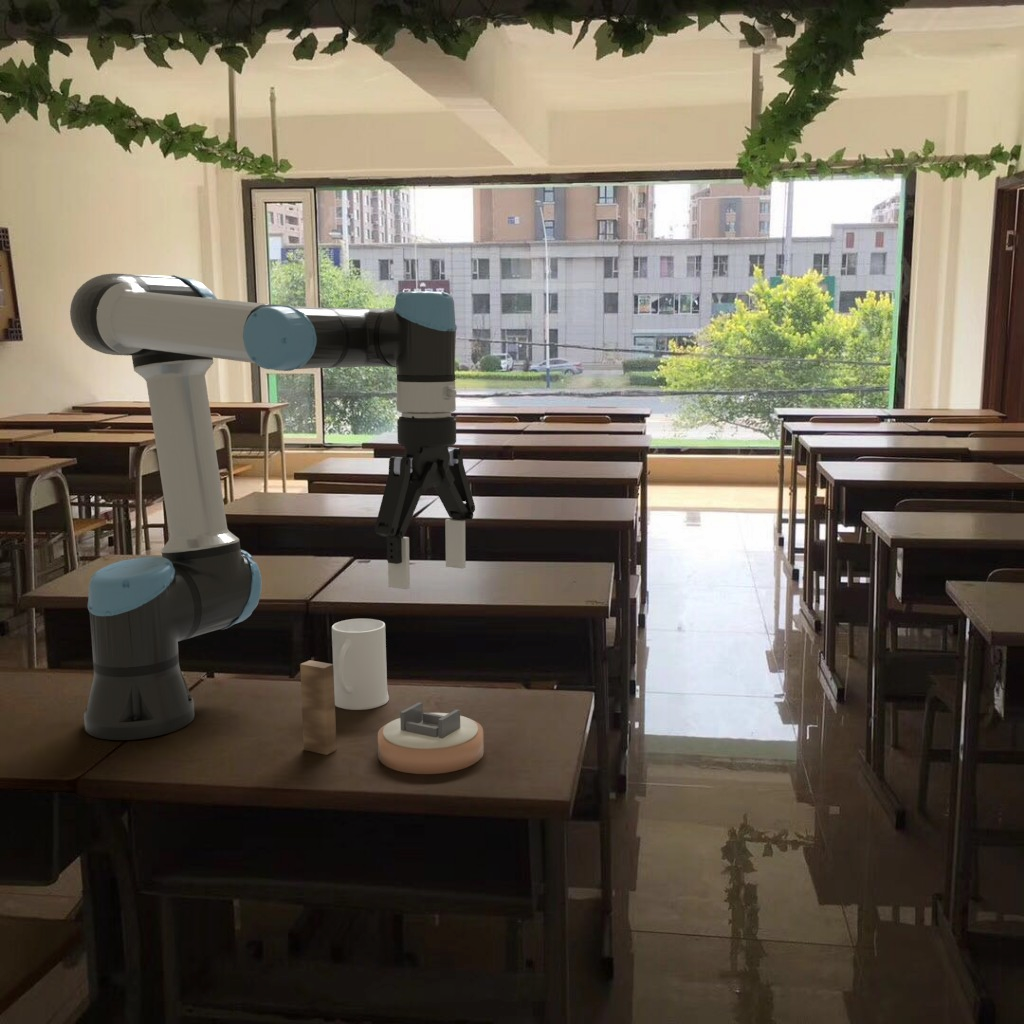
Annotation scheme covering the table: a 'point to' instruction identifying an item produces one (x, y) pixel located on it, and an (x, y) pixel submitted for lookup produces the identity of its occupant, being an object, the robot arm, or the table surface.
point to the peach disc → (430, 742)
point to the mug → (359, 664)
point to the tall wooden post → (318, 707)
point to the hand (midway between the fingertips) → (428, 577)
